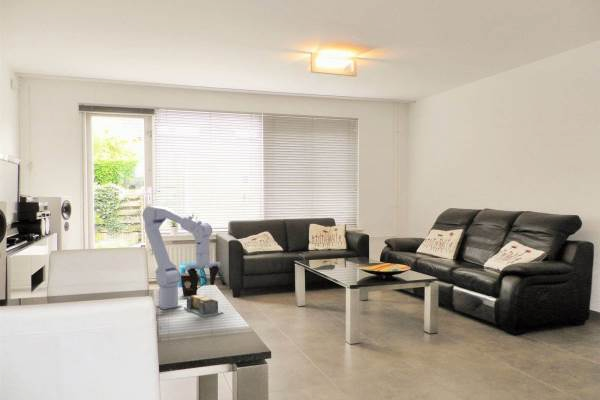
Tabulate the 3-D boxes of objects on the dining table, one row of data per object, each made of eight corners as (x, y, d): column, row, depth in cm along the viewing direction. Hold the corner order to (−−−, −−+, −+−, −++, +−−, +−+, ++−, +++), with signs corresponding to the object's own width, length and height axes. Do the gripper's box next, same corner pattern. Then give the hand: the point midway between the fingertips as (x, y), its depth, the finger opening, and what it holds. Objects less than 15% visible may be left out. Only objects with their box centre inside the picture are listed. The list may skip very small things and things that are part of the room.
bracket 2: (218, 312, 184) (217, 301, 184) (203, 314, 180) (203, 303, 181) (213, 310, 187) (213, 299, 187) (199, 312, 184) (199, 301, 184)
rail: (191, 305, 194) (191, 295, 194) (199, 304, 196) (199, 294, 196) (205, 311, 182) (205, 300, 182) (213, 309, 184) (213, 299, 184)
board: (184, 308, 195) (184, 307, 195) (203, 305, 199) (203, 304, 199) (203, 317, 179) (203, 315, 179) (223, 313, 184) (223, 312, 184)
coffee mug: (176, 295, 224) (176, 274, 224) (189, 292, 231) (188, 272, 231) (195, 297, 218) (195, 276, 218) (207, 294, 226) (207, 273, 226)
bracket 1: (186, 307, 194) (186, 297, 194) (200, 305, 198) (200, 295, 198) (190, 309, 191) (190, 298, 191) (204, 306, 194) (204, 296, 194)
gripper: (189, 255, 185) (190, 289, 185) (223, 252, 193) (223, 284, 193) (183, 253, 191) (184, 286, 191) (215, 251, 199) (216, 282, 199)
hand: (203, 285), depth 192 cm, fingers open, 7 cm apart
